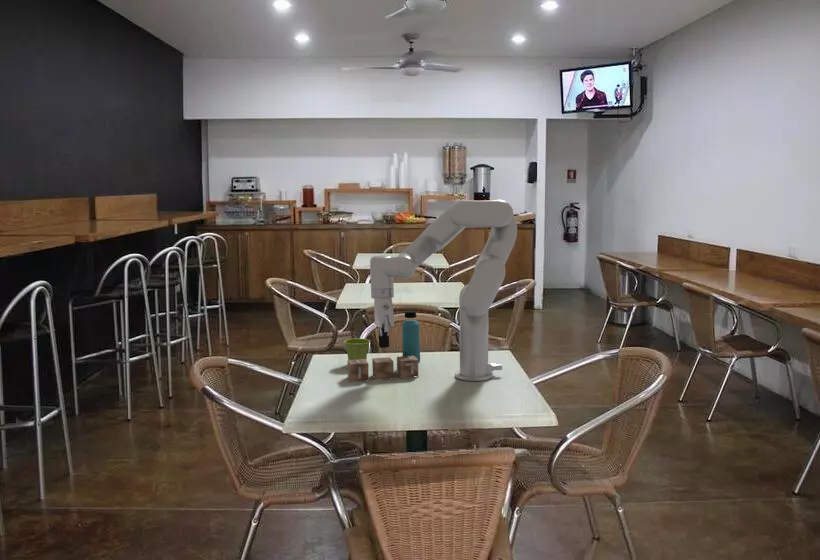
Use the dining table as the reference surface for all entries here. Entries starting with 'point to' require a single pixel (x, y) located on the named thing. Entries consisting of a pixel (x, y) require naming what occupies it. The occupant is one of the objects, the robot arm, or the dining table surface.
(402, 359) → the block seven
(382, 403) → the dining table surface
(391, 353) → the dining table surface
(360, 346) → the plant pot
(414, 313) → the beverage bottle
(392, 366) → the plain block
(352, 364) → the block one
